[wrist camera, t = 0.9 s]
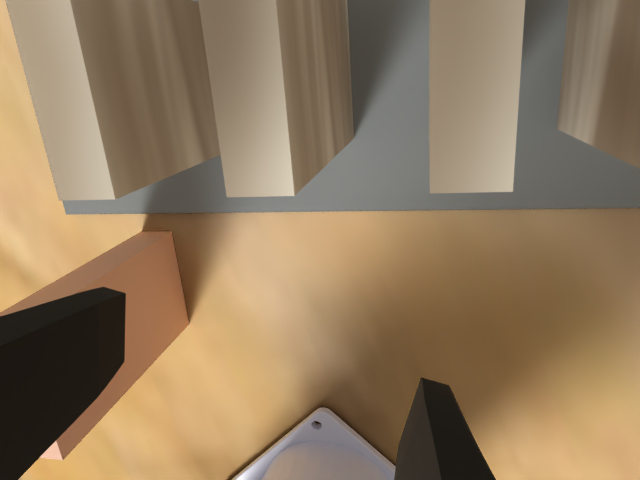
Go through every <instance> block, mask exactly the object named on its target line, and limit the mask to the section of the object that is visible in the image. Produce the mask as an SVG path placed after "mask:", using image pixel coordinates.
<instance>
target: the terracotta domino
mask: <svg viewBox="0 0 640 480" xmlns="http://www.w3.org/2000/svg"><path fill="white" fill-rule="evenodd" d="M100 287H106V288H110V289H113V290H117V291H120V292H124V293H126V314H125V361H124V363H123V365H122V366H121V367H120V369H119V370H118V372H117V373H116V374H115V376H114V377H113V378H112V380H111V381H110V382H109V384H108V385H107V386H106V388H105V389H104V390H103V391H102V393H101V394H100V395H99V397H98V398H97V399H96V400H95V401H94V402H93V403H92V404H91V405H90V406H89V407H88V408H87V409H86V410H85V411H84V412H83V413H82V414H81V415H80V417H79V418H78V419H77V420H76V421H75V422H74V423H73V424H72V425H71V426H70V427H69V428H68V429H67V430H66V431H65V432H64V433H63V434H62V435H61V436H60V437H59V438H58V439H57V440H56V441H55V442H54V443H53V444H52V445H51V446H50V447H49V448H48V449H47V450H46V451H45V452H44V453H43V454H42V455H41V456H40V457H41V458H48V459H56V460H64V458H65V457H66V456H67V455H68V454H69V453H70V452H71V451H72V450H73V449H74V448H75V447H76V446H77V444H78V443H79V442H80V441H81V440H82V439H83V438H84V437H85V436H86V435H87V434H88V433H89V432H90V430H91V429H92V428H93V427H94V426H95V425H96V424H97V423H98V422H99V421H100V420H101V419H102V418H103V416H104V415H105V414H106V413H107V412H108V411H109V410H110V409H111V408H112V407H113V406H114V405H115V403H116V402H117V401H118V400H119V399H120V398H121V397H122V396H123V395H124V394H125V393H126V392H127V391H128V389H129V388H130V387H131V386H132V385H133V384H134V383H135V382H136V381H137V380H138V379H139V378H140V377H141V375H142V374H143V373H144V372H145V371H146V370H147V369H148V368H149V367H150V366H151V365H152V364H153V363H154V361H155V360H156V359H157V358H158V357H159V356H160V355H161V354H162V353H163V352H164V351H165V350H166V348H167V347H168V346H169V345H170V344H171V343H172V342H173V341H174V340H175V339H176V338H177V337H178V336H179V334H180V333H181V332H182V331H183V330H184V329H185V328H186V327H187V326H188V325H189V320H188V315H187V310H186V304H185V299H184V294H183V289H182V283H181V278H180V273H179V268H178V262H177V257H176V252H175V247H174V241H173V236H172V231H142V232H140V233H138V234H136V235H135V236H133V237H131V238H129V239H128V240H126V241H124V242H122V243H121V244H119V245H117V246H115V247H114V248H112V249H110V250H109V251H107V252H105V253H103V254H102V255H100V256H98V257H96V258H95V259H93V260H91V261H89V262H88V263H86V264H84V265H82V266H81V267H79V268H77V269H76V270H74V271H72V272H70V273H69V274H67V275H65V276H63V277H62V278H60V279H58V280H56V281H55V282H53V283H51V284H49V285H48V286H46V287H44V288H43V289H41V290H39V291H37V292H36V293H34V294H32V295H30V296H29V297H27V298H25V299H23V300H22V301H20V302H18V303H16V304H15V305H13V306H11V307H10V308H8V309H6V310H4V311H3V312H1V313H0V316H4V315H7V314H10V313H14V312H17V311H20V310H24V309H27V308H30V307H34V306H37V305H40V304H43V303H47V302H50V301H53V300H56V299H60V298H63V297H66V296H70V295H73V294H76V293H80V292H83V291H87V290H91V289H95V288H100Z"/></svg>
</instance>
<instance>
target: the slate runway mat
mask: <svg viewBox="0 0 640 480" xmlns="http://www.w3.org/2000/svg"><path fill="white" fill-rule="evenodd" d="M191 1H195V2H198V0H191ZM568 3H569V0H525V13H524V28H523V43H522V59H521V74H520V89H519V105H518V120H517V135H516V151H515V166H514V182H513V192H475V193H430V171H429V0H347V8H348V28H349V48H350V69H351V89H352V109H353V130H354V139H353V140H352V141H351V142H350V143H349V144H348V145H347V146H346V147H345V148H344V149H343V150H341V151H340V152H339V153H338V154H337V155H336V156H335V157H334V158H333V159H332V160H331V161H330V162H329V163H328V164H327V165H326V166H325V167H324V168H323V169H322V170H321V171H320V172H319V173H318V174H317V175H316V176H315V177H314V178H313V179H312V180H310V181H309V182H308V183H307V184H306V185H305V186H304V187H303V188H302V189H301V190H300V191H299V192H298V193H297V194H296V195H295V196H269V197H227V195H226V188H225V181H224V174H223V168H222V161H221V155H219V156H217V157H214V158H212V159H210V160H207V161H205V162H202V163H200V164H198V165H195V166H193V167H191V168H188V169H186V170H184V171H181V172H179V173H177V174H174V175H172V176H169V177H167V178H165V179H162V180H160V181H158V182H155V183H153V184H151V185H148V186H146V187H144V188H141V189H139V190H136V191H134V192H132V193H129V194H127V195H125V196H122V197H120V198H118V199H114V200H62V201H63V205H64V208H65V212H66V214H148V213H235V212H323V211H411V210H498V209H586V208H640V169H639V168H637V167H635V166H633V165H631V164H629V163H627V162H624V161H622V160H620V159H618V158H616V157H614V156H612V155H610V154H608V153H606V152H604V151H602V150H600V149H597V148H595V147H593V146H591V145H589V144H587V143H585V142H583V141H581V140H579V139H577V138H575V137H572V136H570V135H568V134H566V133H564V132H562V131H560V130H558V129H557V121H558V111H559V100H560V89H561V78H562V68H563V57H564V46H565V35H566V25H567V14H568Z"/></svg>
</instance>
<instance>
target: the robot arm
mask: <svg viewBox="0 0 640 480" xmlns="http://www.w3.org/2000/svg"><path fill="white" fill-rule="evenodd" d="M125 314H126V293H124V292H120V291H117V290H113V289H110V288H106V287H100V288H95V289H91V290H87V291H83V292H80V293H76V294H73V295H70V296H66V297H63V298H60V299H56V300H53V301H50V302H47V303H43V304H40V305H37V306H34V307H30V308H27V309H24V310H20V311H17V312H14V313H10V314H7V315H4V316H0V480H18V479H19V478H20V477H21V476H22V475H23V474H24V473H25V472H26V471H27V470H28V469H29V468H30V467H31V466H32V465H33V463H34V462H35V461H36V460H37V459H38V458H39V457H40V456H41V455H42V454H43V453H44V452H45V451H46V450H47V449H48V448H49V447H50V446H51V445H52V444H53V443H54V442H55V441H56V440H57V439H58V438H59V437H60V436H61V435H62V434H63V433H64V432H65V431H66V430H67V429H68V428H69V427H70V426H71V425H72V424H73V423H74V422H75V421H76V420H77V419H78V418H79V417H80V415H81V414H82V413H83V412H84V411H85V410H86V409H87V408H88V407H89V406H90V405H91V404H92V403H93V402H94V401H95V400H96V399H97V398H98V397H99V395H100V394H101V393H102V391H103V390H104V389H105V388H106V386H107V385H108V384H109V382H110V381H111V380H112V378H113V377H114V376H115V374H116V373H117V372H118V370H119V369H120V367H121V366H122V365H123V363H124V361H125ZM314 421H318V422H320V423H321V424H317V423H315V422H314ZM231 480H496V479H495V477H494V475H493V474H492V472H491V470H490V468H489V466H488V464H487V462H486V460H485V459H484V457H483V455H482V453H481V451H480V449H479V447H478V445H477V443H476V441H475V439H474V437H473V435H472V433H471V431H470V429H469V427H468V425H467V423H466V421H465V419H464V416H463V414H462V412H461V410H460V408H459V406H458V403H457V401H456V399H455V397H454V394H453V392H452V390H451V388H450V387H449V385H445V384H442V383H438V382H435V381H431V380H428V379H424V378H421V380H420V383H419V386H418V389H417V392H416V395H415V398H414V401H413V404H412V407H411V410H410V413H409V416H408V419H407V422H406V425H405V428H404V431H403V434H402V437H401V440H400V443H399V447H398V454H397V462H396V466H395V465H393V464H392V463H391V462H390V461H389V460H388V459H386V458H385V457H384V456H383V455H382V454H381V453H379V452H378V451H377V450H376V449H375V448H374V447H373V446H371V445H370V444H369V443H368V442H367V441H366V440H364V439H363V438H362V437H361V436H360V435H359V434H357V433H356V432H355V431H354V430H353V429H352V428H351V427H349V426H348V425H347V424H346V423H345V422H344V421H342V420H341V419H340V418H339V417H338V416H337V415H335V414H334V413H333V412H332V411H331V410H329V409H328V408H324V407H322V408H318V409H317V410H315V411H314V412H313V413H312V414H311V415H309V416H308V417H307V418H306V419H304V420H303V421H302V422H301V423H300V424H298V425H297V426H296V427H295V428H293V429H292V430H291V431H290V432H289V433H287V434H286V435H285V436H284V437H282V438H281V439H280V440H279V441H278V442H276V443H275V444H274V445H273V446H271V447H270V448H269V449H268V450H267V451H265V452H264V453H263V454H262V455H261V456H259V457H258V458H257V459H256V460H254V461H253V462H252V463H251V464H250V465H248V466H247V467H246V468H245V469H243V470H242V471H241V472H240V473H239V474H237V475H236V476H235V477H234V478H232V479H231Z"/></svg>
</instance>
